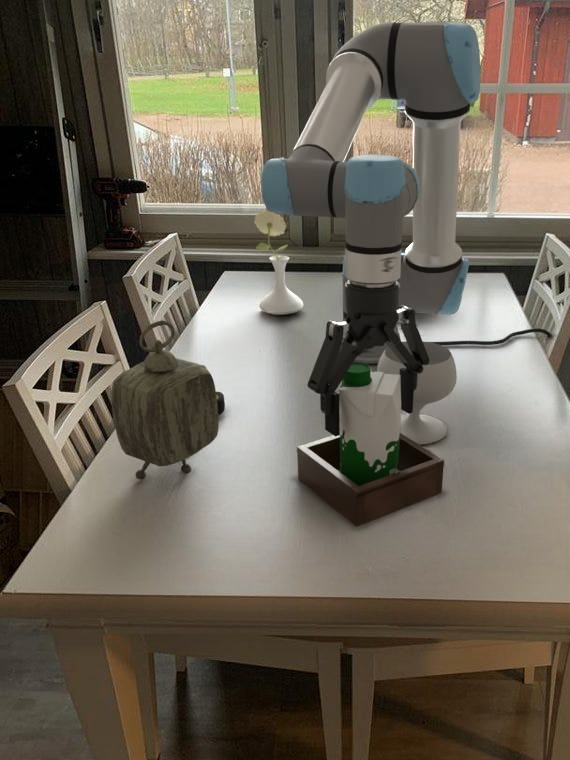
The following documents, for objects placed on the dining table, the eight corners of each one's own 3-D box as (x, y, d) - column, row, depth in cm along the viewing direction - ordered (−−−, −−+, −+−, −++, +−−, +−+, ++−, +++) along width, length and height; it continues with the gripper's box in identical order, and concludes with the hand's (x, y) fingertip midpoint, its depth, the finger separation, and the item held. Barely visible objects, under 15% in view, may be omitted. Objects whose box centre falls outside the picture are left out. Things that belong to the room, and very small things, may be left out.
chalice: (399, 455, 124) (403, 374, 117) (361, 422, 135) (362, 345, 127) (467, 438, 130) (474, 359, 122) (425, 408, 141) (430, 333, 133)
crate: (379, 451, 126) (380, 420, 123) (442, 493, 114) (444, 459, 111) (297, 479, 118) (296, 446, 114) (356, 527, 106) (356, 492, 103)
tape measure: (225, 405, 141) (223, 387, 139) (226, 421, 135) (224, 402, 133) (189, 408, 140) (186, 390, 138) (188, 423, 134) (186, 405, 132)
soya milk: (347, 469, 120) (347, 355, 110) (401, 475, 119) (406, 360, 108) (335, 497, 113) (334, 377, 103) (392, 504, 111) (397, 383, 101)
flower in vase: (312, 309, 191) (309, 210, 179) (285, 321, 183) (281, 218, 170) (273, 301, 197) (267, 204, 184) (245, 312, 189) (238, 211, 176)
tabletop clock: (186, 445, 127) (168, 304, 114) (227, 458, 123) (213, 314, 110) (124, 481, 116) (97, 331, 103) (166, 497, 112) (143, 343, 99)
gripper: (309, 302, 90) (313, 453, 101) (459, 273, 103) (448, 410, 113) (279, 287, 95) (285, 432, 106) (425, 261, 108) (418, 393, 119)
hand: (369, 421), depth 110 cm, fingers open, 13 cm apart
